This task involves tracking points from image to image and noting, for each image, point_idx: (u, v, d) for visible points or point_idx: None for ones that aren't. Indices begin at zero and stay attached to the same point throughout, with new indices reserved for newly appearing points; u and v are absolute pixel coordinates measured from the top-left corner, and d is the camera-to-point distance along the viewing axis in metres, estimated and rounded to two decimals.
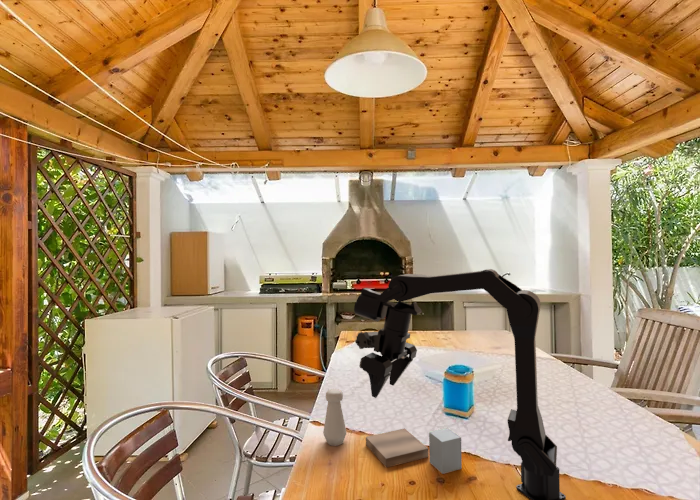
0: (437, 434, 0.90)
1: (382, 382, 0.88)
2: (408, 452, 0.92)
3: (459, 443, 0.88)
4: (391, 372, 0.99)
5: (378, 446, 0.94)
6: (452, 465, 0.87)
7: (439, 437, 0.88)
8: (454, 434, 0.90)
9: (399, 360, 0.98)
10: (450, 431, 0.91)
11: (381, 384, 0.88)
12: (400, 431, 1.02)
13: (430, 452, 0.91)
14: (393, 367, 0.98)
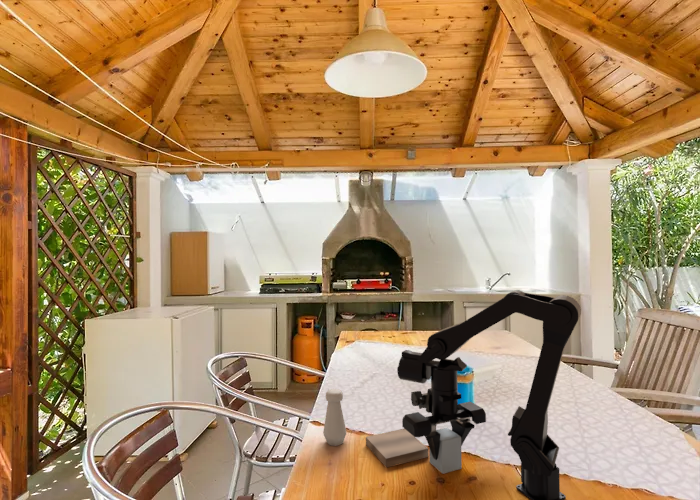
0: None
1: (433, 442, 0.86)
2: (408, 452, 0.92)
3: (459, 443, 0.88)
4: None
5: (378, 446, 0.94)
6: (452, 464, 0.87)
7: None
8: (454, 434, 0.90)
9: (457, 426, 0.90)
10: (450, 431, 0.91)
11: (433, 444, 0.86)
12: (400, 431, 1.02)
13: (430, 451, 0.91)
14: None
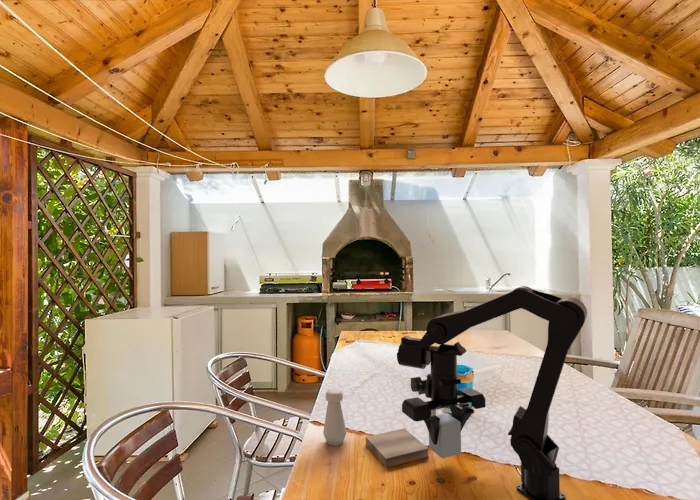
0: None
1: (432, 427, 0.86)
2: (408, 452, 0.92)
3: (458, 428, 0.88)
4: None
5: (378, 446, 0.94)
6: (451, 449, 0.87)
7: None
8: (453, 419, 0.90)
9: (457, 411, 0.90)
10: (449, 416, 0.91)
11: (433, 429, 0.86)
12: (400, 431, 1.02)
13: (430, 437, 0.91)
14: None
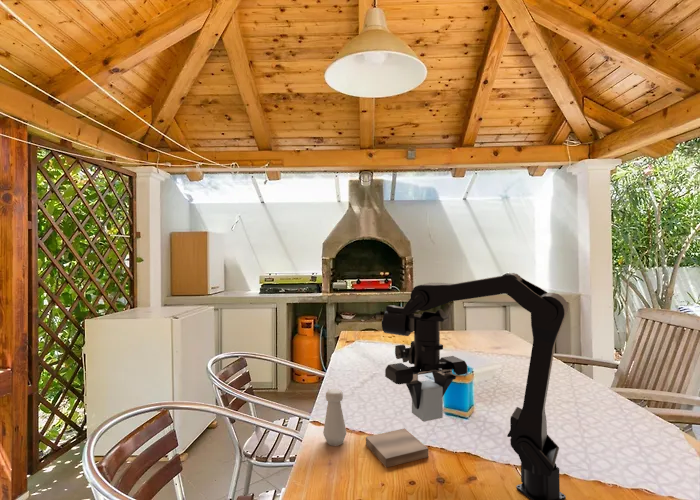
0: None
1: (414, 391, 0.88)
2: (408, 452, 0.92)
3: (440, 393, 0.90)
4: None
5: (378, 446, 0.94)
6: (433, 413, 0.90)
7: (421, 387, 0.90)
8: (436, 385, 0.92)
9: (439, 377, 0.92)
10: (432, 382, 0.93)
11: (415, 393, 0.89)
12: (400, 431, 1.02)
13: (412, 402, 0.93)
14: None
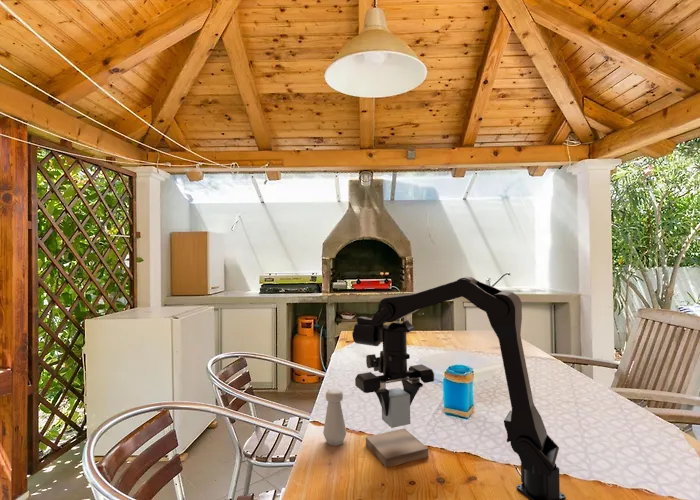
0: None
1: (382, 399, 0.93)
2: (408, 452, 0.92)
3: (408, 400, 0.95)
4: None
5: (378, 446, 0.94)
6: (401, 420, 0.94)
7: (389, 394, 0.95)
8: (404, 392, 0.96)
9: (407, 385, 0.97)
10: (401, 390, 0.98)
11: (383, 401, 0.93)
12: (400, 431, 1.02)
13: None
14: None
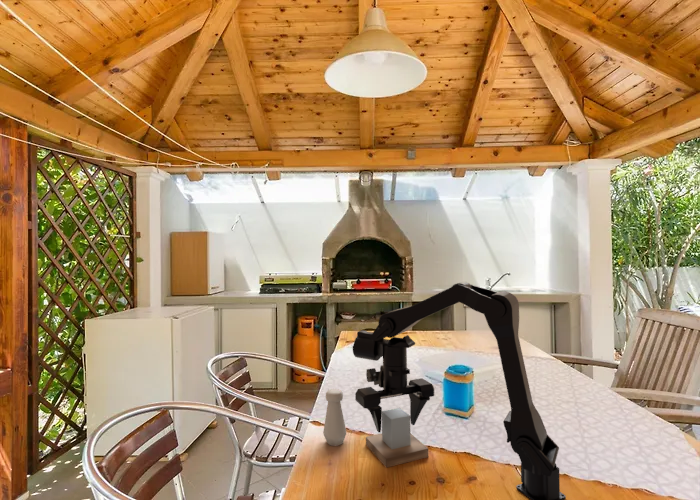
0: (388, 413, 0.96)
1: (375, 415, 0.92)
2: (408, 452, 0.92)
3: (408, 421, 0.95)
4: (411, 411, 0.99)
5: (378, 446, 0.94)
6: (401, 441, 0.94)
7: (390, 415, 0.95)
8: (404, 413, 0.96)
9: (415, 398, 0.98)
10: (401, 410, 0.98)
11: (375, 418, 0.92)
12: None
13: (382, 430, 0.97)
14: (411, 406, 0.99)
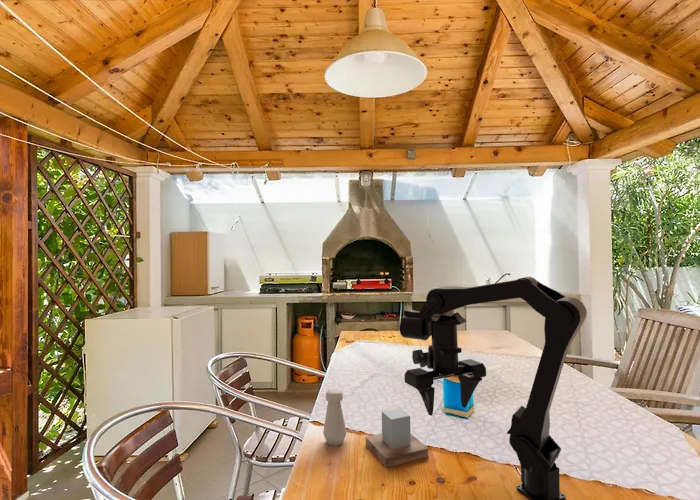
0: (388, 413, 0.96)
1: (427, 397, 0.87)
2: (408, 452, 0.92)
3: (408, 421, 0.95)
4: (461, 393, 0.94)
5: (378, 446, 0.94)
6: (401, 441, 0.94)
7: (390, 415, 0.95)
8: (404, 413, 0.96)
9: (465, 379, 0.93)
10: (401, 410, 0.98)
11: (428, 399, 0.87)
12: None
13: (382, 430, 0.97)
14: (462, 388, 0.94)
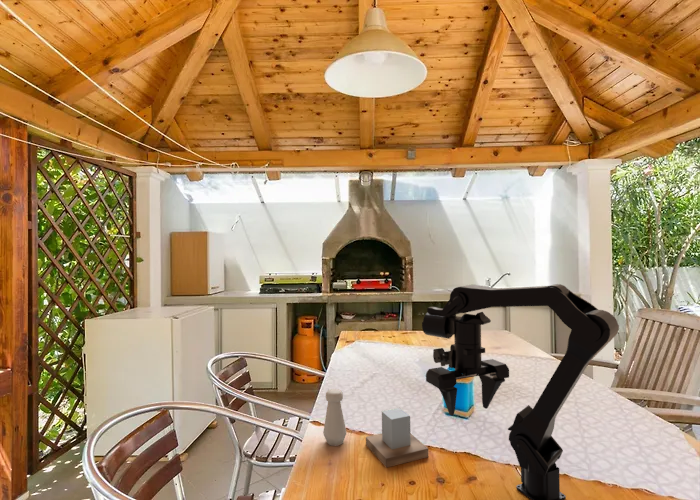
0: (388, 413, 0.96)
1: (450, 397, 0.85)
2: (408, 452, 0.92)
3: (408, 421, 0.95)
4: (482, 394, 0.92)
5: (378, 446, 0.94)
6: (401, 441, 0.94)
7: (390, 415, 0.95)
8: (404, 413, 0.96)
9: (488, 380, 0.91)
10: (401, 410, 0.98)
11: (450, 399, 0.86)
12: None
13: (382, 430, 0.97)
14: (483, 388, 0.92)
